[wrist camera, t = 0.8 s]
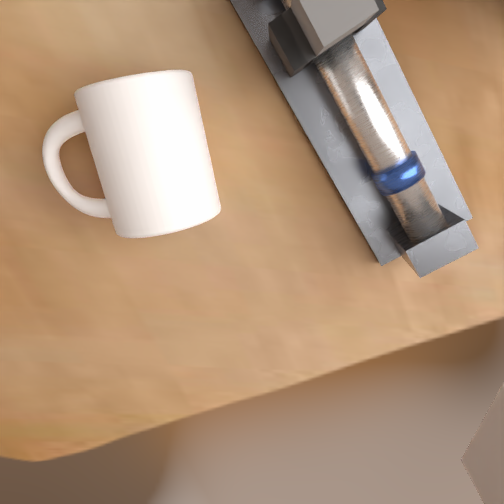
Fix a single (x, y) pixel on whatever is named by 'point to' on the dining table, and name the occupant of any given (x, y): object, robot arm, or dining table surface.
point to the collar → (318, 28)
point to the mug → (140, 153)
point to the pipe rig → (372, 143)
